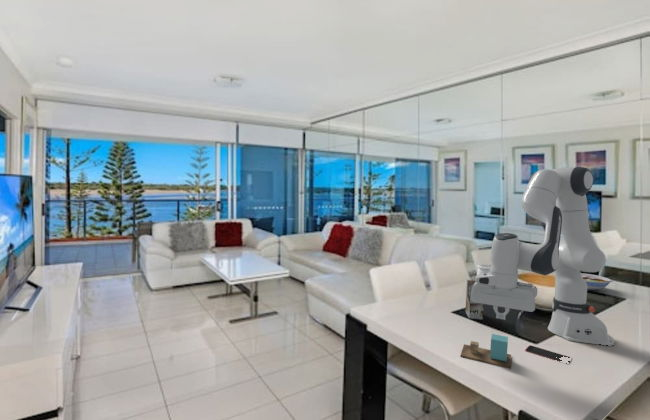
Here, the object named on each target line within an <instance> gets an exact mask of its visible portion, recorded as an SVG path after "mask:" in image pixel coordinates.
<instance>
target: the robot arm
mask: <svg viewBox="0 0 650 420" xmlns="http://www.w3.org/2000/svg"><path fill="white" fill-rule="evenodd" d="M528 179H529V180H528V183H527V185H526V187H525V189H524V192H523V194H522V197H521V202H520V204H521V208H522V210H523V211H524V212H525V213H526V214H527V215H528V216H530V217H531V218H532V219H535V220H537V221H540V222H542V223H543V224H545V228H544V237H543V242H542V243H540V244H539V243H538V244H534V243H528V242H523V241H520V240H519V237H518V235H516V234H515V233H509V232H506V233H505V232H504V233H502V232H501V233H497V234H495V235H494V236H493V239H492V243H491V248H490V249H491V250H490V261H491V264H490V265H491V267H490V272H489V273H482V274H478V275H477V274H476V276H475V280H476V282H475V283H474V285H473V288H472V292H471V300H472V302H476V303H482V304H484V305H488V306H493V312H494V313H495V319H499V320H504V321H506V316H507V315H508V314H509V312H510V309H512V310H517V311H524V312H529V313H530V312H531V313H533V312H535V310H536V297H537V296H538V288H537V286H535V285H534V284H532V283H525V282H521V281H518V279H519V270H523V271H528V272H532V273H535V274H539V275H542V276H548V275H551V274H553V273H554V275H553V276H554V296H553V298H552V304H551V305H552V306H551V307H552V314H551V319H550V321H549V324H548V326H547V330H548V331H549V332H551V333H552V334H554V335H556V336H559V337H562V338H564V339H566V341H570V342H576V343H585V344H593V345H599V344H601V345H600V346H606V345H608V346H607V347H613V346H615V340H614V337H612V336H611V335H610V334H609V333H608V328H607V326H606V324H605V323H604V321H602V320H601V319H600V318H598V317H597V315H595V314H594V312H595V311H596V309H595V307H594V306H593V305H591V303H589V302H587V297H588V290H587V283H586V282H585V280H584V279H583V278H582V276H581V273H582V272H583V273H598V272H599V271H601V270H602V269H603V268H604V267H605V265H606V262H607V259H606V255H605V253H604V252H603V251H602V250H601V249H600V248H599V246H598V245H597V244H596V242H595V240H594V237H593V236H592V233H591V230H590V229H591V228H590V224H589V223H590V222H589V208H588V207H589V206H588V200H587V195H586V194H587V193H588V192H589V191H590V190H592V187H593V183H594V177H593V172H592V171H591V170H590V169H589V168H587V167H582V166H575V167H568V166H566V167H557V168H551V169H549V168H545V169H544V168H543V169H540V170H537V171H534V172H533V173H532V174H531V175H530V177H529V178H528ZM561 236H562V238H563V239H561ZM498 307H499V308H504V312H499V311H498V310H499V308H498ZM612 345H613V346H612Z"/></svg>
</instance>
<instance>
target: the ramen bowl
mask: <svg viewBox="0 0 650 420" xmlns="http://www.w3.org/2000/svg"><path fill="white" fill-rule="evenodd" d="M580 273H581V276H582V278H583V279H584V280H585V282H586V283H587V291H595V290H601V289H604V288H606V287H607V286H609V284H610V283H612V279H610V278H608V277H605V276H601V275H596V274H591V273H586V272H583V273H582V272H580Z"/></svg>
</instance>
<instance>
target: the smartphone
mask: <svg viewBox="0 0 650 420" xmlns="http://www.w3.org/2000/svg"><path fill="white" fill-rule="evenodd" d="M524 351H525V352H526V353H530V354H533V355H535V356H539V357H543V358H545V357H546V359H548V358H549V360H552V361H555V360H557V361H556V362H558V361H559V363H561V362H560V361H562V360H560V359H559V358H561V357H563V356H564V357H568V358H570V357H571V356H567V355H564V354H561V353H559V352H555V351H552V350H551V351H550V350H547V349H544V348H540V347H538V346H534V345H530V344H529V345H528V346H527V347H526V349H524ZM556 357H557V358H556ZM568 362H569V363H571V362H570V361H568ZM565 365H568V364H567V363H566V364H565Z"/></svg>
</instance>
